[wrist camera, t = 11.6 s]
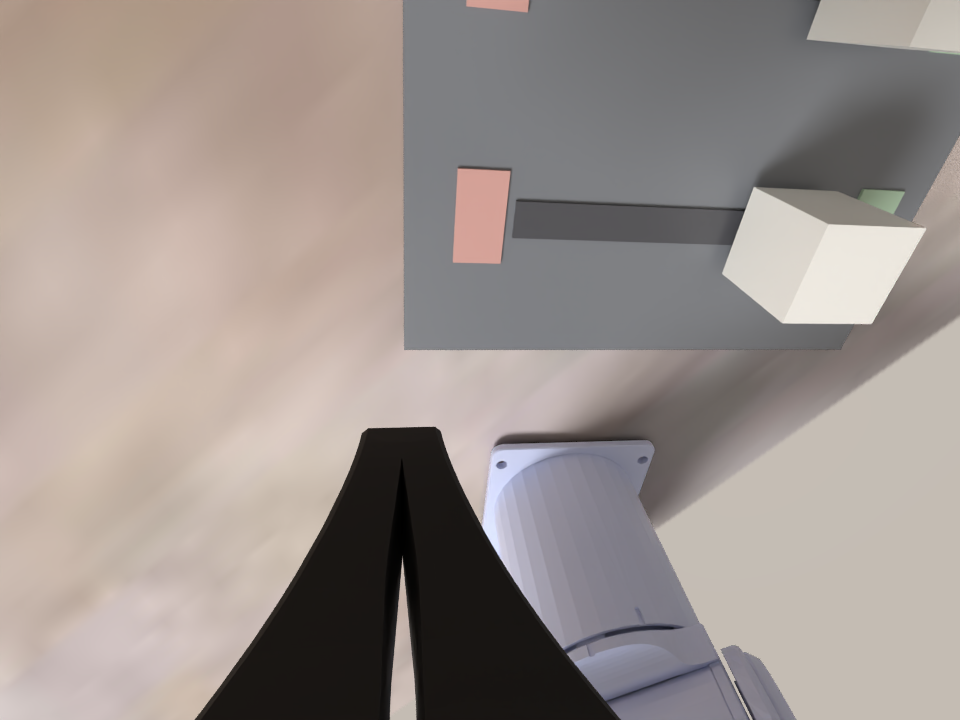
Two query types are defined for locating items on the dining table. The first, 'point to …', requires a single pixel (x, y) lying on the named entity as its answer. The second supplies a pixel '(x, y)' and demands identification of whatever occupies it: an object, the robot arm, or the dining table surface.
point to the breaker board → (637, 163)
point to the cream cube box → (890, 24)
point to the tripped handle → (818, 255)
